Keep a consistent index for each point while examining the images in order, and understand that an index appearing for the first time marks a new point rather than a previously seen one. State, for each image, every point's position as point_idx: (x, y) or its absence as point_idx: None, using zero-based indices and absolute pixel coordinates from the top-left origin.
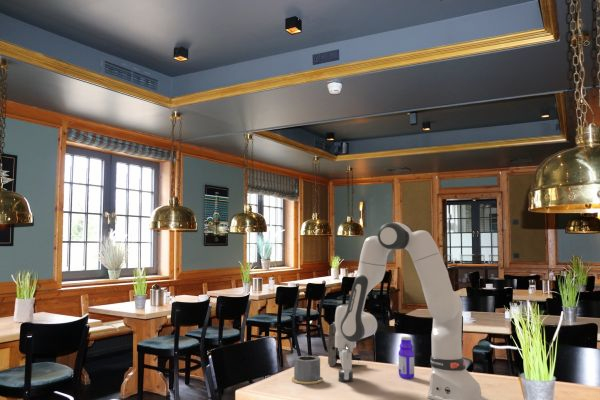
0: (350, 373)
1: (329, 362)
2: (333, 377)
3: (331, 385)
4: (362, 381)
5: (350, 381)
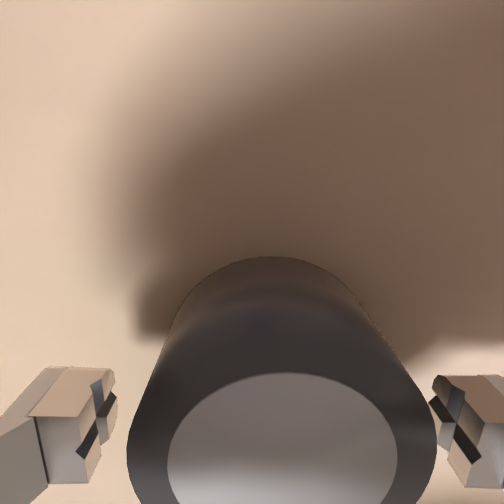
0: (411, 380)
1: None
2: (112, 467)
3: (466, 500)
4: (326, 104)
5: (358, 303)
